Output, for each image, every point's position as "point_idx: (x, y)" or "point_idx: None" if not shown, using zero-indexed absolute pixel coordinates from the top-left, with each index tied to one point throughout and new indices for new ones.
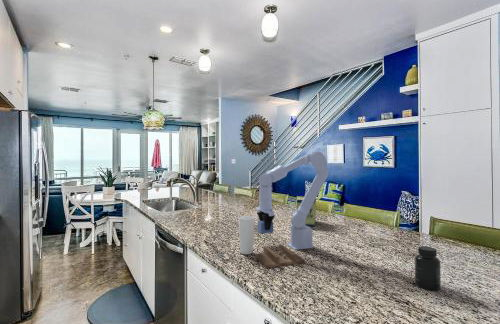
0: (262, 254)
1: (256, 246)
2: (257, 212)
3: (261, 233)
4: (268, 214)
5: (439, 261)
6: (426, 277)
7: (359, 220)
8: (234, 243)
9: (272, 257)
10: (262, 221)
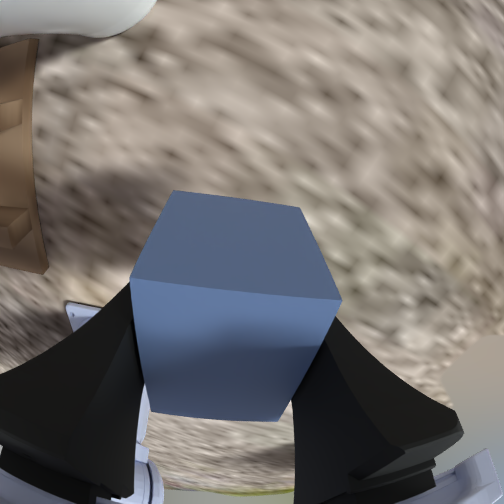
0: (6, 85)
1: (209, 117)
2: (444, 442)
3: (172, 197)
4: (3, 466)
5: None
6: None
7: (285, 487)
8: (372, 10)
9: None
10: (237, 345)
